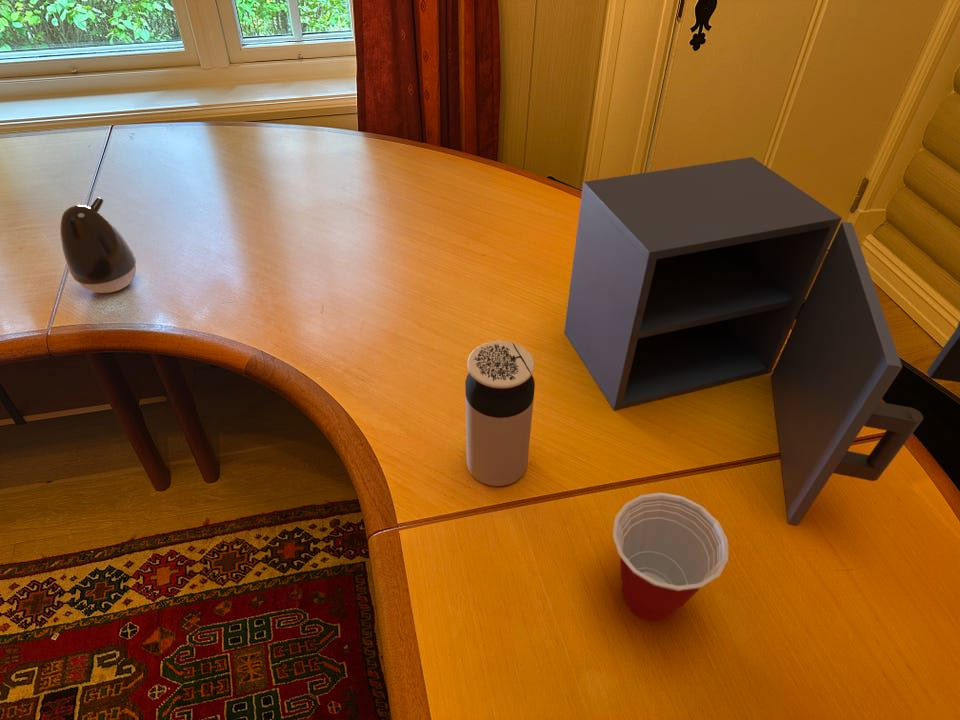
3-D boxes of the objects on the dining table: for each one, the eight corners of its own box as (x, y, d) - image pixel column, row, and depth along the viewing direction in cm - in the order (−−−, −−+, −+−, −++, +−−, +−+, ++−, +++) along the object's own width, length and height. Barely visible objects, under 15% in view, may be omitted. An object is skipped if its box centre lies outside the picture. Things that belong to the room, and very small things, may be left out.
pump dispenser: (156, 272, 111) (123, 196, 101) (117, 305, 103) (77, 227, 93) (110, 263, 113) (73, 188, 103) (68, 295, 106) (23, 218, 95)
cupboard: (771, 372, 92) (842, 217, 74) (613, 410, 86) (649, 252, 68) (705, 303, 104) (752, 156, 87) (563, 332, 99) (583, 181, 81)
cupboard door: (821, 384, 90) (906, 229, 72) (852, 537, 71) (977, 379, 53) (770, 375, 91) (841, 221, 74) (787, 522, 73) (888, 364, 55)
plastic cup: (639, 532, 72) (660, 470, 64) (718, 599, 66) (752, 541, 58) (576, 588, 67) (590, 529, 58) (655, 667, 61) (683, 613, 52)
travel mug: (472, 492, 76) (472, 392, 64) (461, 443, 82) (459, 343, 69) (534, 482, 77) (545, 382, 65) (519, 435, 83) (526, 334, 70)
